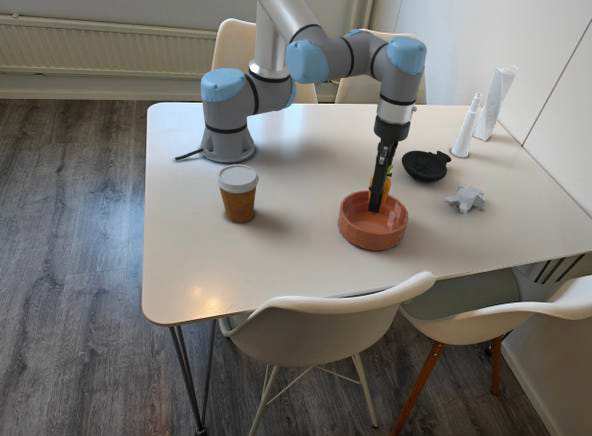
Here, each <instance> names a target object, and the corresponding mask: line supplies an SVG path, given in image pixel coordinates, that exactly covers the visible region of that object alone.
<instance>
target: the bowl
mask: <svg viewBox="0 0 592 436" xmlns="http://www.w3.org/2000/svg"><path fill="white" fill-rule="evenodd" d="M368 206H369V189H367V190H357V191H354V192H351V193H349V194H347V195H346V196H344V198H343V199H342V200H341V202H340V205H339V214H338V220H337V227H338V230H339V233H340V234H341V235H342V237H344V239H345V240H346V241H348V242H350V243H351V244H353V245H354V246H357V247H359V248H362V249H365V250H372V251H381V250H388V249H391V248H393V247H396V246H397V245H398V244H399V243H400V242H402V240H403V238H404V237H405V234H406V230H407V226H408V224H409V223H408V222H409V211H408V210H407V207H406V206H405V205H404V204H403V203H402V202H401V200H399V199H398V198H396V197H394V196H393V195H391V194H389V193H388V197H387V199H386V201H385V203H384V205H383V207H382V208H381V210H380V211H379V214H378V213H377V214H376V215H373V214H372V212H371V211H368Z"/></svg>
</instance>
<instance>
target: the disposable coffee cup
mask: <svg viewBox="0 0 592 436" xmlns="http://www.w3.org/2000/svg"><path fill="white" fill-rule="evenodd" d="M259 178H260V177H259V176H258V173H257V172H256V170H255V169H254V168H252V167H251V166H249V165H245V164H238V163H237V164H230V165H226V166H224V167H222V168H221V169H220V170H219V171H218V172H217V175H216V177H215V182H216V185H217V186H218V188H219V191H220V196H221V198H222V202H223V207H224V211H225V214H226V218H227V219H228V220H229V221H231V222H234V223H244V222H247V221H249V220H250V219H252V218H253V216H254V209H255V199H256V192H257V185H258V184H259V180H260V179H259Z"/></svg>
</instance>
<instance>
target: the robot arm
mask: <svg viewBox="0 0 592 436" xmlns="http://www.w3.org/2000/svg"><path fill="white" fill-rule="evenodd" d="M255 15H256V16H255V17H256V18H255V40H254V42H255V43H254V57H253V58H252V59H251V60H250V61H249V63H248V72H247V73H244V72H243V71H242V70H241V69H238V68H234V67H230V68H228V67H221V68H215V69H212V70H210V71H207V72H206V73H205V74H204V75H203V76H202V78H201V79H200V97H201V102H202V111H203V120H204V130H203V134H202V139H201V143H200V148H199V149H195V150H193V151H190V152H189V153H185V154H183V155H180V156H175V157H174V160H175V161H182V160H184V159H187V158H189V157H191V156H195V155H197V154H200V153H201V154H202V155H203V156H204V157H205V158H206V159H208V160H210V161H212V162H216V163H220V164H221V163H222V164H235V163H241V162H244V161H246V160H248V159H250V158H251V157H252V156H254V153H255V140H254V139H253V136H252V135H251V132H250V130H249V128H248V117H252V116H256V115H261V114H267V113H271V112H279V111H282V110H285V109H288V108H290V106H292V105H293V103H294V102H295V100H296V96H297V84H295V83H298V84H300V85H309V84H321V83H324V82H328V81H334V80H340V79H347V78H352V77H359V76H368V77H370V78H372V79H374V80H375V81H377V82H380V83H381V84H380V90H379V95H378V100H377V106H376V115H375V119H374V126H373V132H374V134H375V135H376V137H378V138H380V141H379V142H378V143H377V153H376V156H375V165H374V170H373V175H372V177H373V180H372V186H370V185H369V186H370V187H369V186H368V190H370V192H371V196H370V201H369V206H368V211H371V212H375V213H378V214H379V210H380V206H381V201H382V196H383V191H384V190H383V187H384V183H385V179H386V175H387V170H388V167H389V166H390V165H392V164H393V161H394V157H395V156H396V151H397V149H398V146H399V142H403V141H406V139H408V137H409V132H410V128H411V122H412V119H413V114H414V112H417V111H418V107H417V106H415V105H416V102H417V98H418V97H417V96H418V92H419V88H420V84H421V82H422V81H421V80H422V77H423V74H424V71H425V68H426V67H425V66H426V65H425V64H426V58H427V53H428V49H427V46H426V44H425V43H424V42H423V41H421V40H419V39H417V38H412V37H410V36H406V35H405V36H404V35H396V36H395V35H394V36H393V37H391V38H390V39H389V40H388V41H387V40H385V39H383V38H382V37H379V36H377V35H375V34H374V33H372V32H370V31H367V30H363V29H360V28H353V29H351V30H350V31H348V32H347V33H345V34H344V36H339V37H329V36H328V34H327V33H326V31H325V30H324V28H323V27H322V25H321V24H320V23H319V21H318V20H317V18H316V17H315V15H314V14H313V12H312V11H311V9H310V8H309V6H308V5H307V3H306V1H305V0H256V13H255ZM392 166H393V165H392ZM389 172H390V173H391V174H390V175H387V176H388V177H389V178H392V177H393V172H391V170H390V171H389Z"/></svg>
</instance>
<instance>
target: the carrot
mask: <svg viewBox="0 0 592 436" xmlns="http://www.w3.org/2000/svg"><path fill="white" fill-rule="evenodd" d="M393 167H394V166H393V165H390V166H389V167H388V170H387V175H390V174H391V173H392V172H391V170H392V168H393ZM389 171H390V172H389ZM387 175H386V179H385V183H384V187H383V190H384V191H383V196H382V201H381V206H380V210H381V208H382V207H383V205H384V203H385V201H386V199H387V197H388V194H389V193H390V189H391V185H392V180H391V179H390V177H388V176H387ZM372 180H373V176H372V177H371V178H370V180H369V186H368V188H369V187H370V186H372ZM368 190H369V189H368ZM370 196H371V192H370V190H369V201H370ZM380 210H379V211H380ZM372 214H373V215H376V214H377V213H375V212H372Z"/></svg>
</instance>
